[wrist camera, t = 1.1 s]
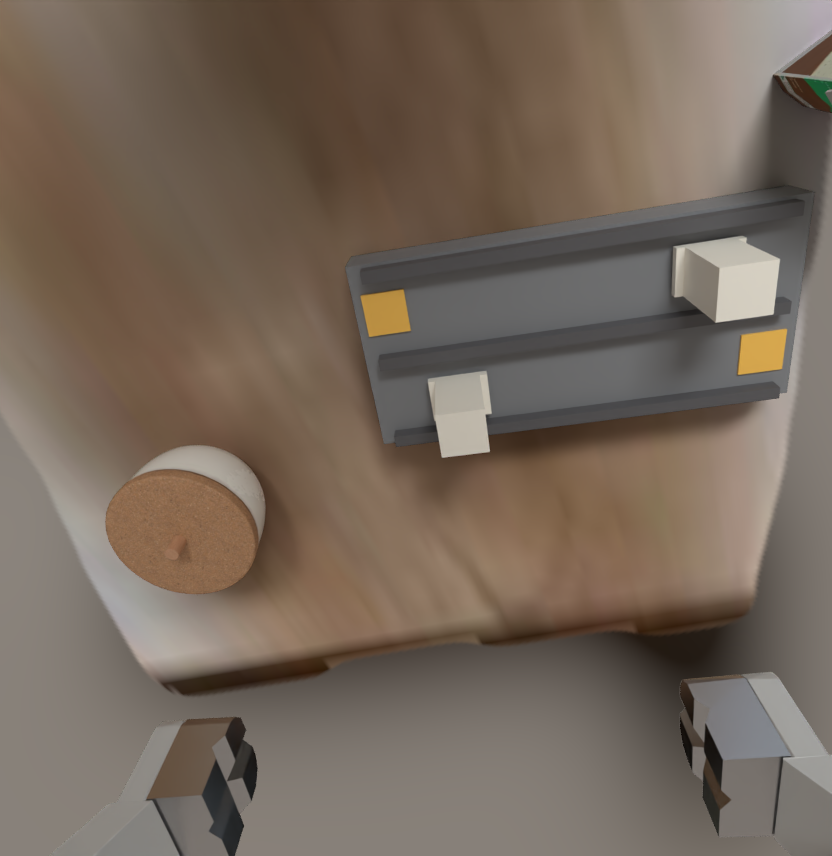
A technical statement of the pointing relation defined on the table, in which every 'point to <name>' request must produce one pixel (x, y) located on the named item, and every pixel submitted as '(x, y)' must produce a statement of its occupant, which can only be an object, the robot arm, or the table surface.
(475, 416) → the tab
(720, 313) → the tab
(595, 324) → the switch board
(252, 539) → the lidded jar
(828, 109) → the food container
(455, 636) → the table surface
